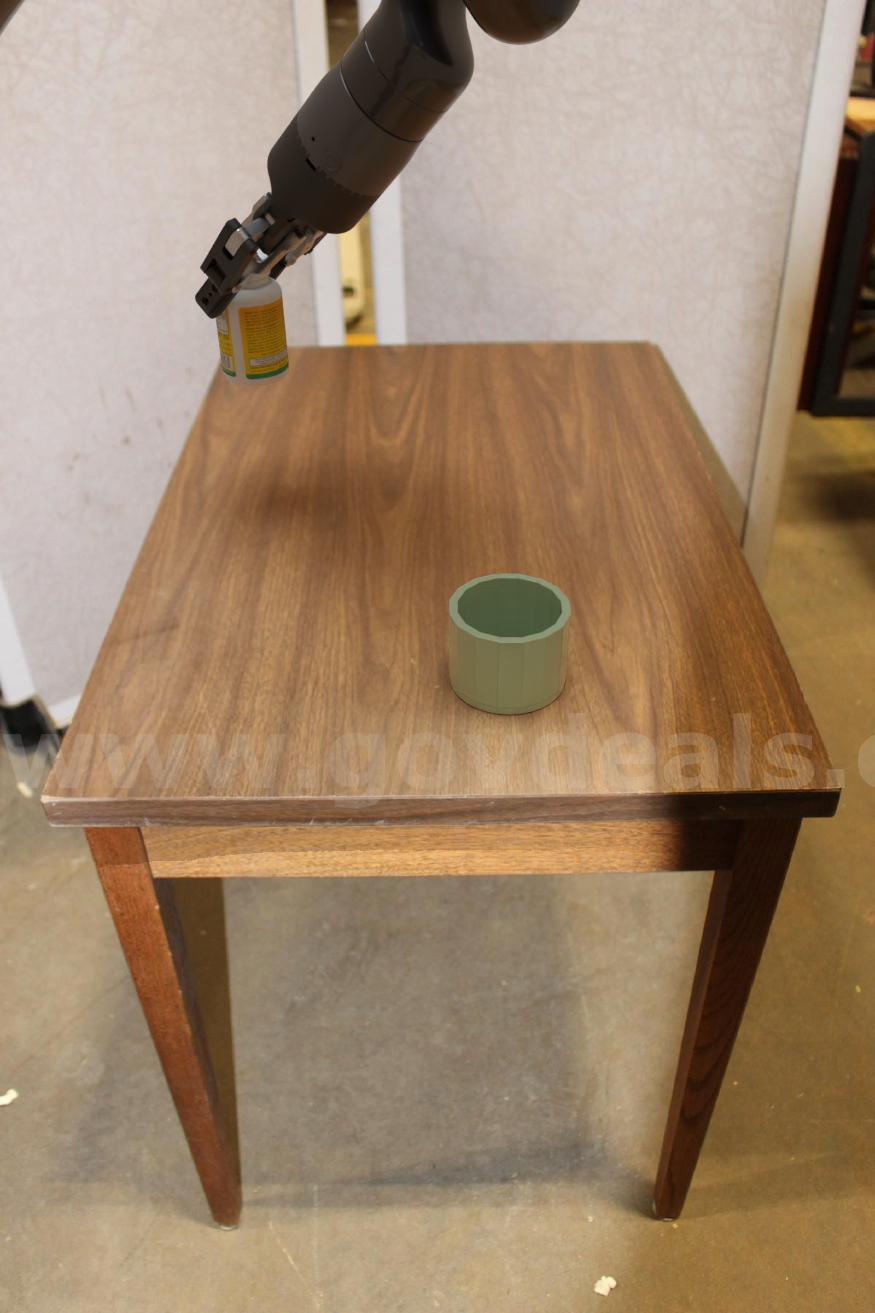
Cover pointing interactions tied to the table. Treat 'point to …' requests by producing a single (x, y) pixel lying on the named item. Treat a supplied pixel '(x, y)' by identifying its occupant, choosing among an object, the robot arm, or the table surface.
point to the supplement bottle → (254, 334)
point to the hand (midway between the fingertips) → (229, 295)
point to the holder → (508, 642)
